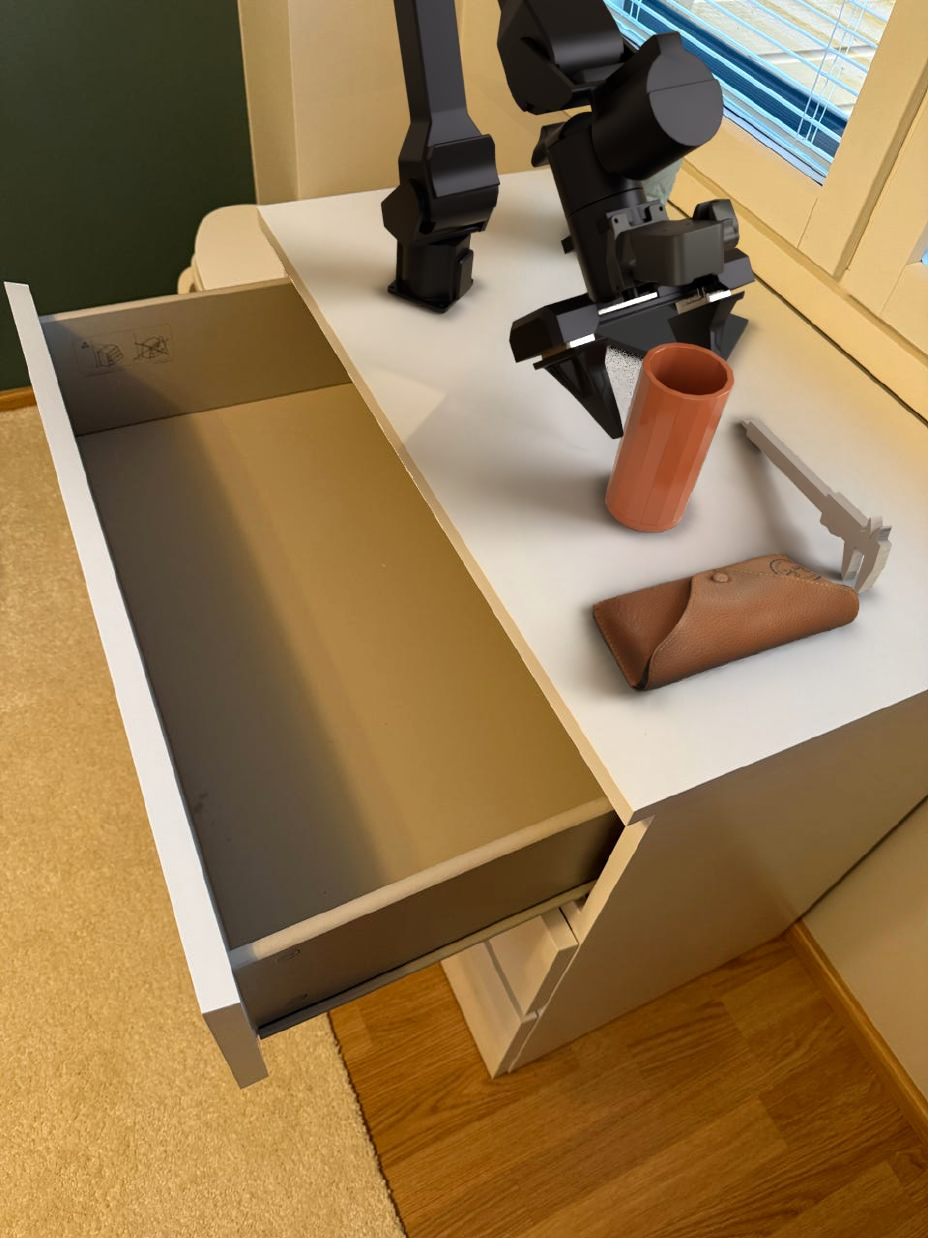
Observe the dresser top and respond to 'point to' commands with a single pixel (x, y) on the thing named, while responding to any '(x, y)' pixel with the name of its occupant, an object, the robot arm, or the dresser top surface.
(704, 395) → the crock
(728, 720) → the dresser top surface
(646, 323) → the mat
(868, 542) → the caliper
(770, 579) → the sunglasses case
